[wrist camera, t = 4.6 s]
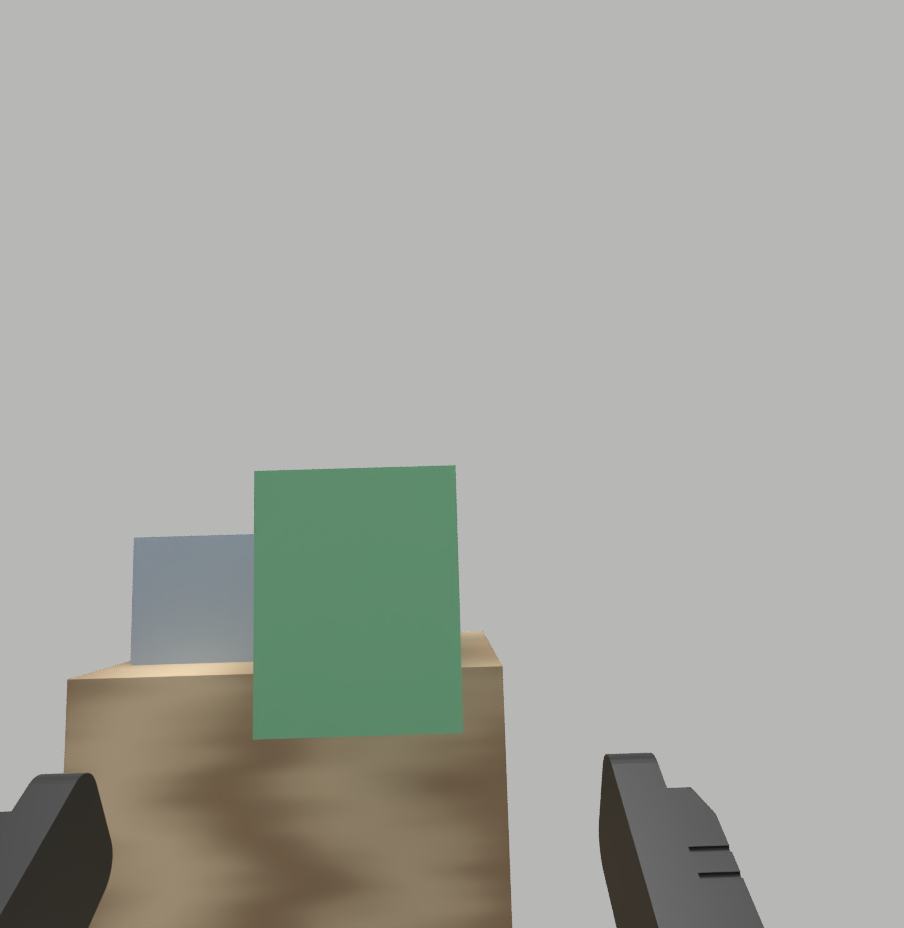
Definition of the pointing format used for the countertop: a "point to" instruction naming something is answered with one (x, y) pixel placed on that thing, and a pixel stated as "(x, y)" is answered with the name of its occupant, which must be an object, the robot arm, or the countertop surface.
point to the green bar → (356, 603)
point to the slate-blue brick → (193, 599)
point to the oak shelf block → (290, 807)
